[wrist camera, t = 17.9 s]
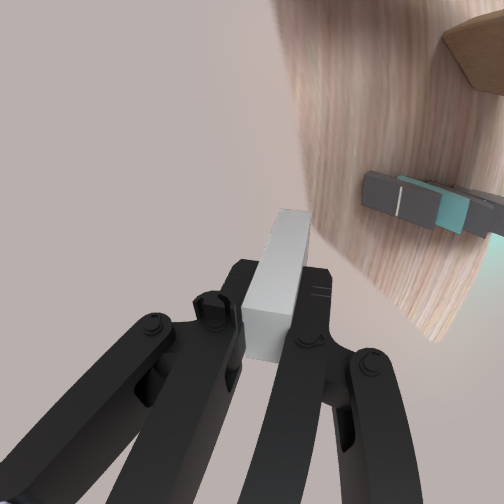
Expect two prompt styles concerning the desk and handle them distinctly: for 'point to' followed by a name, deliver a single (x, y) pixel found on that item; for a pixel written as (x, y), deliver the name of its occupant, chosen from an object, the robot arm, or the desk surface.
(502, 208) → the domino
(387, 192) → the domino
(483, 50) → the block
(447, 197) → the domino
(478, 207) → the domino
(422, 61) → the desk surface
